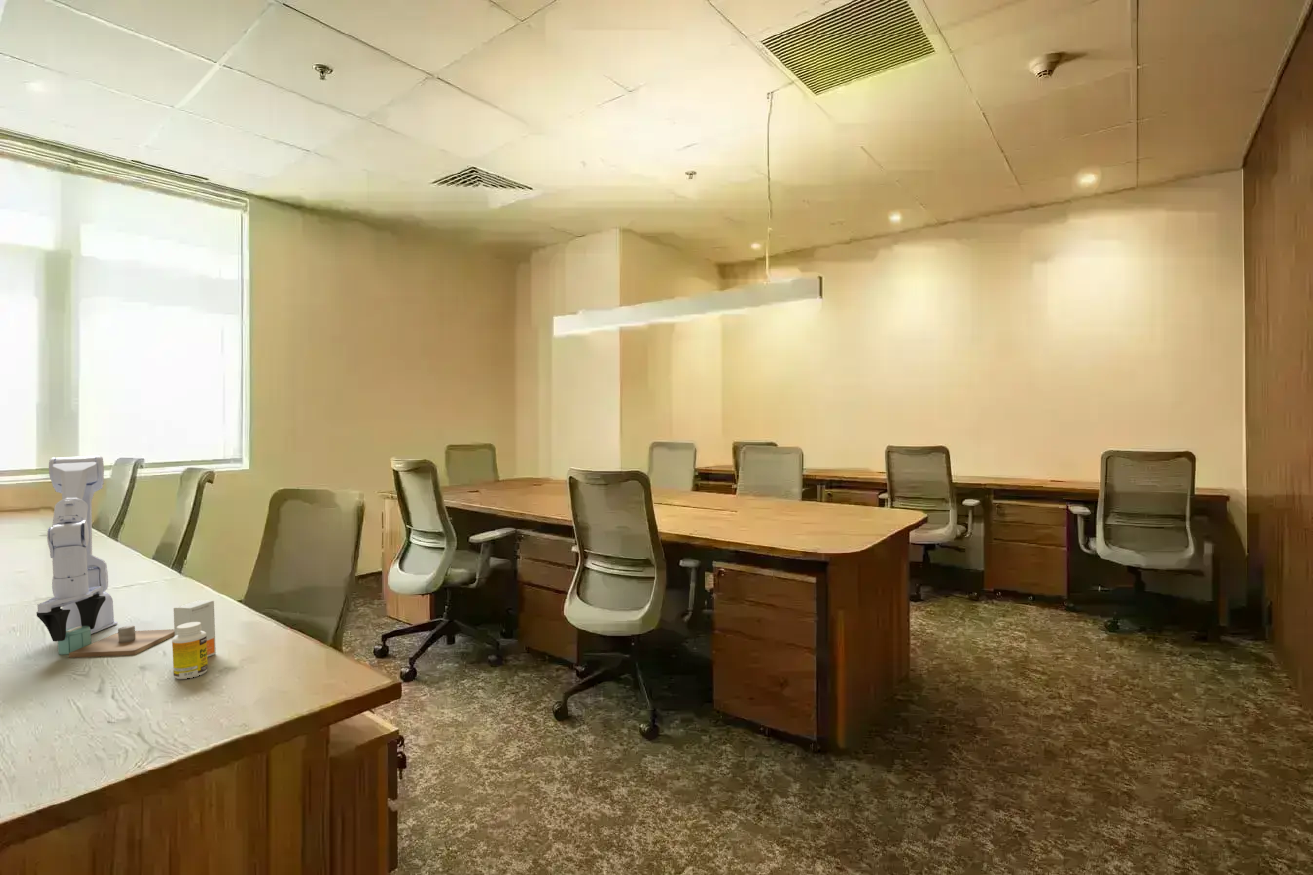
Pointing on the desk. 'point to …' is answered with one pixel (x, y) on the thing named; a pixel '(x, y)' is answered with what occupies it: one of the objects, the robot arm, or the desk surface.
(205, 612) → the skincare box
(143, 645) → the post fixture
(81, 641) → the cap
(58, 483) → the robot arm
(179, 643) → the supplement bottle
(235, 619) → the desk surface
